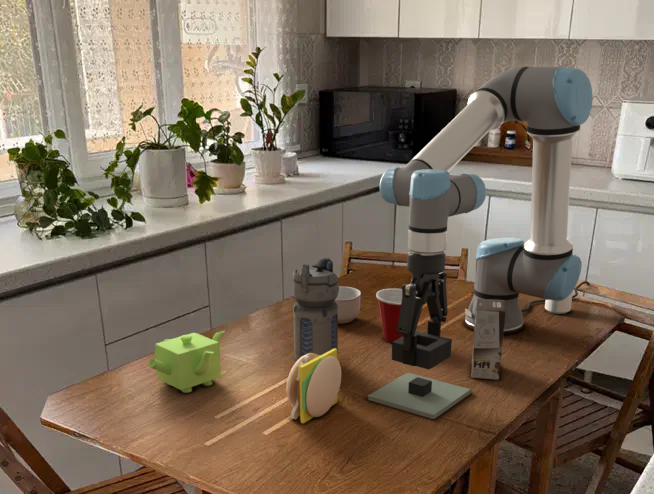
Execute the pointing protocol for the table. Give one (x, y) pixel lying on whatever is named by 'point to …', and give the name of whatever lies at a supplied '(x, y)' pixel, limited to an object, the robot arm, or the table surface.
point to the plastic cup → (390, 312)
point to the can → (559, 305)
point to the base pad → (419, 395)
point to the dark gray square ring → (425, 350)
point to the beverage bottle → (315, 309)
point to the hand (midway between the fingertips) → (421, 357)
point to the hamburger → (313, 385)
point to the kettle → (188, 360)
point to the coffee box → (488, 338)
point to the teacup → (348, 304)
